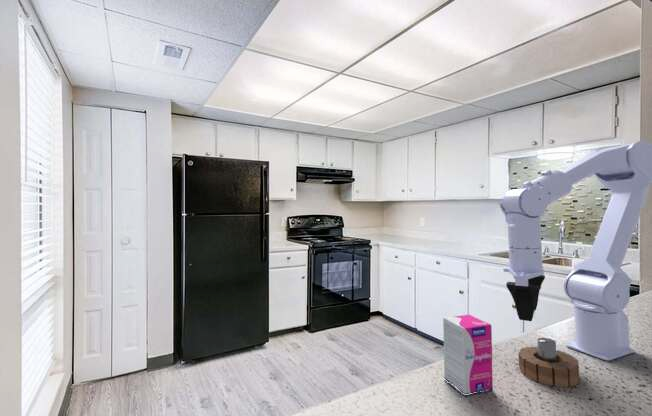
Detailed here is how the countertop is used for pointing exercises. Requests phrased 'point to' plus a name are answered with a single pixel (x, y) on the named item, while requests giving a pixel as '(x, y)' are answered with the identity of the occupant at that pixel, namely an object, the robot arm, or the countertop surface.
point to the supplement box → (468, 353)
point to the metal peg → (547, 350)
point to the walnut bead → (549, 368)
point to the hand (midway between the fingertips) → (527, 314)
